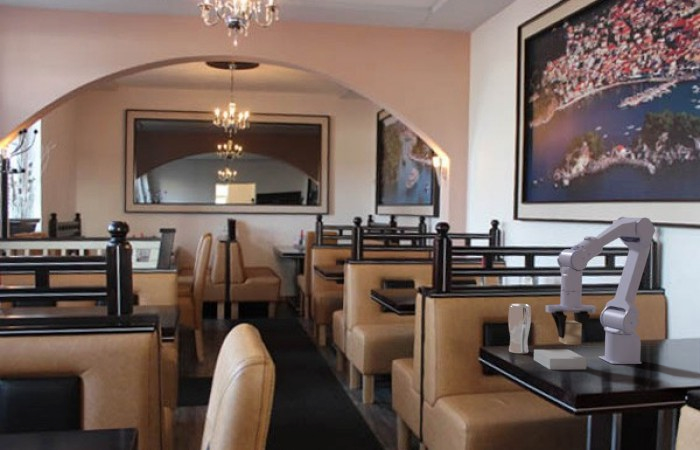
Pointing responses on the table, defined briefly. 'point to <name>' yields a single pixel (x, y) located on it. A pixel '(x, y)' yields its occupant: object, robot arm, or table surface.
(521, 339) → the beer glass
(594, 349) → the table surface
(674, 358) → the table surface
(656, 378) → the table surface
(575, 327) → the beech block
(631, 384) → the table surface
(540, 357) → the ceramic box
